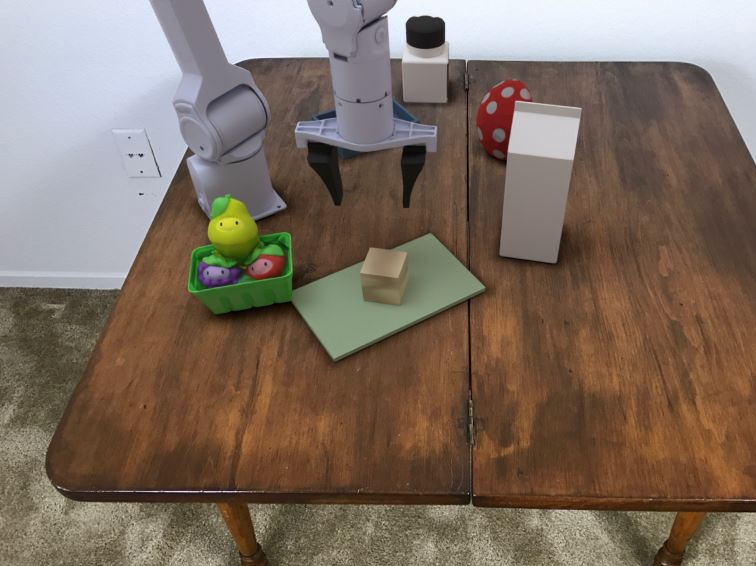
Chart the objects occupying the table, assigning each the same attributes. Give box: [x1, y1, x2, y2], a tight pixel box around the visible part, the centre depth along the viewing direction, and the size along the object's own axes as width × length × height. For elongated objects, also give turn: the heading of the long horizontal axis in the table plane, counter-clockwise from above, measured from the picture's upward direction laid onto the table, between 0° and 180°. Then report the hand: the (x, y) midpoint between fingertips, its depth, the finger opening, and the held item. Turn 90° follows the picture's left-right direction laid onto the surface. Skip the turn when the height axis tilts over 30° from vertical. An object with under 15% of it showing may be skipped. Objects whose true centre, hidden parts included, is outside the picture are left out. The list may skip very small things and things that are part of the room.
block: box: [360, 247, 409, 306], centre depth 78 cm, size 4×4×4 cm
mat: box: [290, 232, 486, 363], centre depth 80 cm, size 20×12×1 cm, turn 124°
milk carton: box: [499, 101, 583, 264], centre depth 79 cm, size 7×7×19 cm
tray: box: [310, 97, 421, 160], centre depth 102 cm, size 13×10×2 cm
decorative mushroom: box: [475, 78, 534, 161], centre depth 98 cm, size 11×11×15 cm
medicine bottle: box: [401, 13, 450, 104], centre depth 107 cm, size 7×7×12 cm
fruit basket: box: [187, 195, 294, 315], centre depth 75 cm, size 11×9×11 cm
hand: (372, 201), depth 76 cm, fingers open, 7 cm apart
